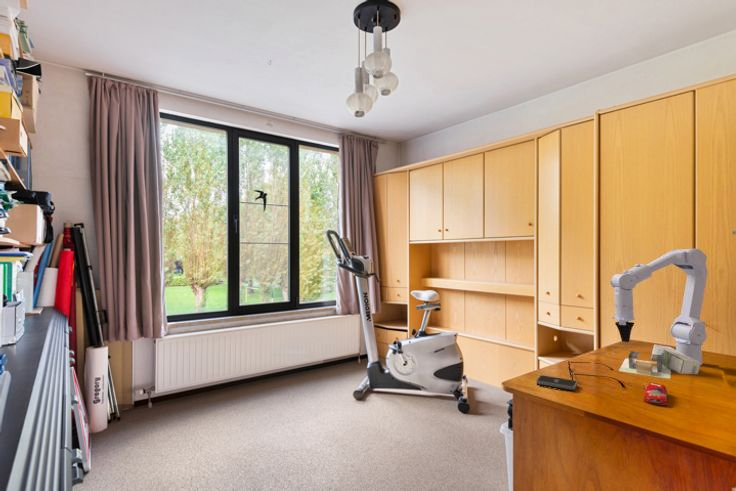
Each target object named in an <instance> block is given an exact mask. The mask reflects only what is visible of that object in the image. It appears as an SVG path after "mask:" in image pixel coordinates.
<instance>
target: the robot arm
mask: <svg viewBox="0 0 736 491" xmlns="http://www.w3.org/2000/svg"><path fill="white" fill-rule="evenodd" d="M707 259H708V256H707V255H706V254H705V252H703V251H702V250H701V249H700V248H686V249H685V248H683V249H679V248H675V249H673V250H671V251H667V252H666V253H664V254H663V255H662V256H661V255H660V256H659V257H658V258H656V259H654V260H652V261H650V262H649V263H647V264H644V263H635V264H634V265H633V267H631V268H630V269H626V270H623V271H622V273H617V274H614V275H613V276H612V277H611V280H610V282H609V284H610V285H611V286H612V288H613V292H614V293H613V294H614V312H615V315H612V316H611V319H615V320H616V322H615V323H614V324H615V326H616V328H617V330H618V333H619V335H620V339H621V342H624V343H630V341H631V340H630V339H631V333H632V330H633V326H634V325H635V322H633V321H635V316H634V298H633V297H634V294H633V289H634V288H635V287H636V285H637V284H639V283H641V282H643V281H645V280H648V279H649V278H651V277H652V276H653V273H654V272H656V271H659V270H661V269H663V268H666V267H668V266H670V265H673V266H675V267H677V268H678V269H680V270H682V271H683V272H684V273H685V274H686V282H685V287H684V293H683V298H682V299H683V300H682V304H681V305H682V306H681V310H680V315H679V316H677V317H676V318H674V320H673V324H672V325H671V326H670V328H669V329H670V330H669V333H670V335H671V337H673V338H674V341H675V350H677V351H678V352H680V353H682V354H684V355H686V356H688V357H690V358H693V359H695V360H697V361H699V362H701V364H700V366H702V365H703V353H702V345H703V344H704V342H705V341H706V340H707V332H706V327H707V326H706V324H705V322H703V321H702V320H701V314H702V308H703V303H704V302H703V301H704V297H705V289H706V285H707V279H708V267H707V264H706V263H707Z"/></svg>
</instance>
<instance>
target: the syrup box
mask: <svg viewBox="0 0 736 491" xmlns="http://www.w3.org/2000/svg"><path fill="white" fill-rule="evenodd" d="M653 354H657V355H662V365H664V366H665V367H667V368H669V369H671V371H673V372H674V373H677V374H681V375H698V374H699V370H700V367H701V365H700V364H701V362H699V361H697V360H695V359H693V358H690V357H688V356H686V355H684V354H682V353H680V352H678V351H677V350H676V348H675V349H674V348H673V347H670V346H667V345H660V344H653V348H652V351H651V358H652V355H653ZM651 358H650V359H651Z"/></svg>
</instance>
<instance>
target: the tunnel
mask: <svg viewBox="0 0 736 491" xmlns="http://www.w3.org/2000/svg"><path fill="white" fill-rule="evenodd" d="M639 356H640V352H639V351H629V353H628V359H629V368H632V369H633V366H634V364H636V362H635V360H636V359H638V358H639ZM651 357H652V358H650V360H651V362H657V363H656V367H657V372H659V373H661V371H662V355H657V354H653V355H652V354H651Z"/></svg>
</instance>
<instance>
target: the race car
mask: <svg viewBox="0 0 736 491" xmlns="http://www.w3.org/2000/svg"><path fill="white" fill-rule="evenodd" d="M643 390H644V394H643V400H644V401H643V402H645V403H648V404H652V405H659V406H666V407H667V406H668V389H667V386H666V385H664V384H662V383H661V384H660V383H655V382H648V383H647V384H646V385H645V388H643Z"/></svg>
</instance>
